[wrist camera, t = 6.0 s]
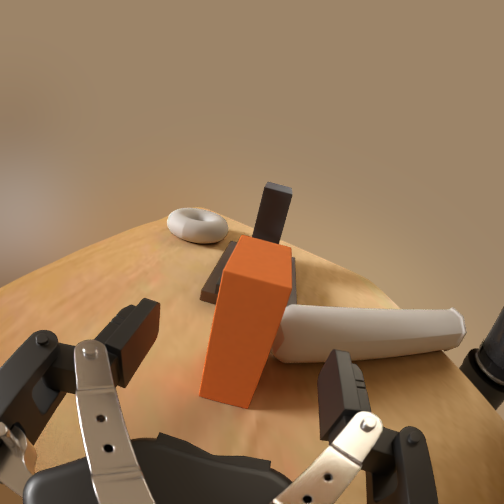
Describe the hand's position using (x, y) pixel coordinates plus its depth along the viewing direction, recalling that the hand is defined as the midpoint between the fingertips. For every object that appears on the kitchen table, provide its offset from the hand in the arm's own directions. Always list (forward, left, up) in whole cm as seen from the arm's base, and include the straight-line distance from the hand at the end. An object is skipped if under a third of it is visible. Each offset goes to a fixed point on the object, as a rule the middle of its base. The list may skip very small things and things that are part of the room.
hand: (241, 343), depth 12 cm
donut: (+11, -33, -8) cm, 35 cm away
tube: (-14, -13, -8) cm, 20 cm away
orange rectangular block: (0, -6, -8) cm, 10 cm away
